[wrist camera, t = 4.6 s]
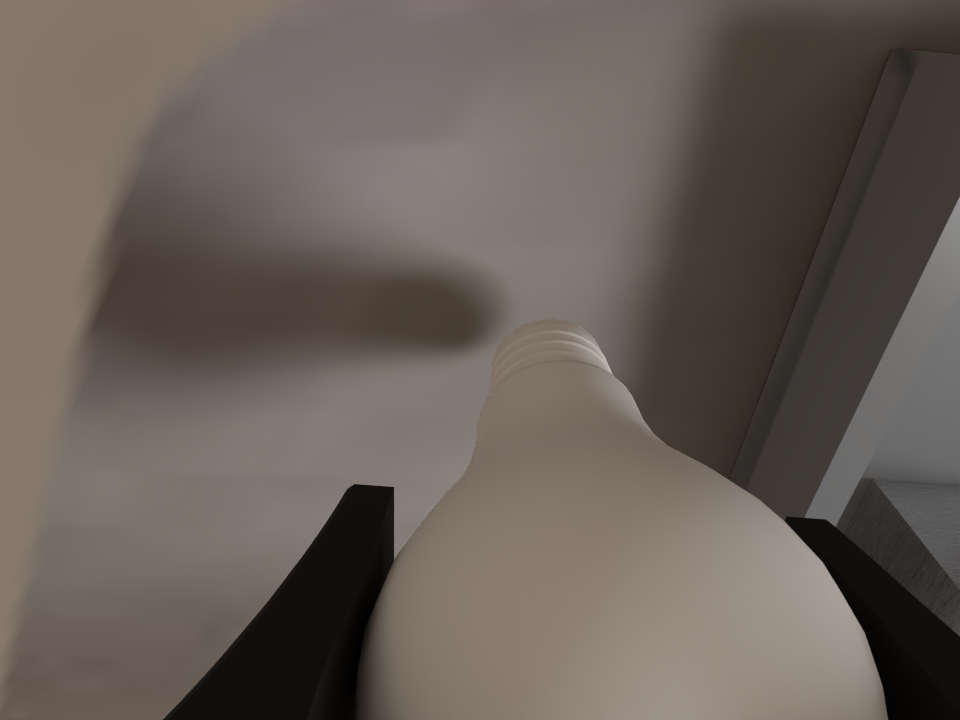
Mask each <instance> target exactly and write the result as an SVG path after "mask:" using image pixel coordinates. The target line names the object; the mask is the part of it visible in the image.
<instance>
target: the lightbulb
mask: <svg viewBox="0 0 960 720" xmlns="http://www.w3.org/2000/svg"><path fill="white" fill-rule="evenodd" d="M490 381H491V383H490V395H489V396H488V398H487V400H486V402H485V404H484V406H483V408H482V410H481V412H480V417H479V422H478V428H477V439H476V446H475V449H474V453H473V456H472V459H471V463H470V465H469V466H468V468H467V470H466V472H465V473H464V475H463V476H462V477H461V478H460V479H459V480H458V481H457V483H456V484H455V485H454V486H453V487H452V488H451V489H450V490H449V491H448V492H447V493H446V494H445V495H444V496H443V498H442V499H441V500H440V501H439V503H438V504H437V505H436V506H435V507H434V509H433V510H432V511H431V512H430V513H429V515H428V516H427V517H426V519H425V520H424V521H423V522H422V524H421V525H420V526H419V528H418V529H417V530H416V532H415V533H414V534H413V535H412V537H411V538H410V539H409V541H408V542H407V543H406V544H405V546H404V547H403V548H402V550H401V551H400V552H399V553H398V555H397V556H396V558H395V560H394V562H393V564H392V566H391V569H390V571H389V573H388V575H387V577H386V580H385V582H384V584H383V586H382V589H381V591H380V594H379V596H378V598H377V601H376V603H375V606H374V608H373V610H372V613H371V615H370V617H369V620H368V622H367V625H366V627H365V630H364V636H363V642H362V648H361V654H360V660H359V665H358V671H357V681H356V692H355V720H888V716H887V710H886V704H885V698H884V691H883V686H882V683H881V680H880V677H879V674H878V671H877V668H876V665H875V662H874V659H873V656H872V653H871V650H870V647H869V644H868V641H867V638H866V635H865V632H864V631H863V629H862V627H861V625H860V624H859V622H858V620H857V619H856V617H855V615H854V613H853V612H852V610H851V608H850V607H849V605H848V603H847V601H846V600H845V598H844V596H843V594H842V593H841V591H840V589H839V588H838V586H837V584H836V583H835V581H834V580H833V578H832V576H831V575H830V573H829V572H828V570H827V568H826V567H825V565H824V564H823V562H822V561H821V560H820V559H819V558H818V557H817V556H816V555H815V554H814V552H813V551H812V550H811V549H810V548H809V547H808V546H807V545H806V544H805V543H804V542H803V541H802V540H801V539H800V537H799V536H798V535H797V534H796V533H795V532H794V531H793V530H792V529H791V528H790V527H789V526H788V525H787V524H786V523H785V521H783V520H782V519H781V518H780V517H779V516H778V515H776V514H775V513H774V512H773V511H772V510H771V509H770V508H768V507H767V506H766V505H765V504H764V503H763V502H761V501H760V500H759V499H758V498H756V497H755V496H753V495H752V494H750V493H748V492H747V491H745V490H744V489H742V488H741V487H739V486H738V485H736V484H734V483H733V482H731V481H730V480H728V479H727V478H725V477H723V476H722V475H720V474H719V473H717V472H716V471H714V470H713V469H711V468H709V467H708V466H706V465H704V464H702V463H700V462H698V461H696V460H695V459H693V458H691V457H689V456H687V455H685V454H683V453H681V452H679V451H677V450H675V449H673V448H671V447H669V446H667V445H666V444H665V443H664V442H663V441H661V440H660V439H659V438H658V437H657V436H656V435H655V434H654V433H653V432H652V431H651V429H650V428H649V427H648V425H647V424H646V422H645V421H644V420H643V418H642V416H641V413H640V411H639V409H638V407H637V405H636V403H635V401H634V399H633V396H632V395H631V394H630V392H629V391H628V390H627V388H626V387H625V386H624V385H623V384H622V383H621V382H620V381H619V380H618V379H617V378H616V377H614V376H613V374H612V372H611V370H610V368H609V365H608V363H607V360H606V358H605V356H604V355H603V354H602V352H601V350H600V347H599V345H598V343H597V342H596V340H595V339H594V338H593V336H592V335H591V334H589V333H588V332H587V331H586V330H585V329H583V328H581V327H580V326H578V325H576V324H573V323H570V322H567V321H563V320H556V319H549V320H539V321H534V322H530V323H528V324H525V325H523V326H521V327H519V328H517V329H516V330H514V331H512V332H511V333H510V334H509V335H508V336H507V337H505V338H504V339H503V341H502V342H501V343H500V345H499V346H498V348H497V350H496V352H495V354H494V358H493V362H492V370H491V375H490Z"/></svg>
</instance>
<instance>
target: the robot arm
mask: <svg viewBox="0 0 960 720" xmlns="http://www.w3.org/2000/svg"><path fill="white" fill-rule="evenodd" d="M785 523H786V524H787V525H788V526H789V527H790V528H791V529H792V530H793V531H794V532H795V533H796V534H797V535H798V536H799V537H800V539H801V540H802V541H803V542H804V543H805V544H806V545H807V546H808V547H809V548H810V549H811V550H812V551H813V552H814V554H815V555H816V556H817V557H818V558H819V559H820V560H821V561H822V562H823V564H824V565H825V567H826V568H827V570H828V572H829V573H830V575H831V576H832V578H833V580H834V581H835V583H836V584H837V586H838V588H839V589H840V591H841V593H842V594H843V596H844V598H845V600H846V601H847V603H848V605H849V607H850V608H851V610H852V612H853V613H854V615H855V617H856V619H857V620H858V622H859V624H860V625H861V627H862V629H863V631H864V632H865V635H866V638H867V641H868V644H869V647H870V650H871V653H872V656H873V659H874V662H875V665H876V668H877V671H878V674H879V677H880V680H881V683H882V686H883V691H884V698H885V704H886V710H887V716H888V720H960V636H959V635H958V634H956V633H955V632H954V631H953V630H952V629H951V628H950V627H948V626H947V625H946V624H945V623H944V622H943V621H942V620H940V619H939V618H938V617H937V616H936V615H935V614H934V613H932V612H931V611H930V610H929V609H928V608H927V607H926V606H925V605H923V604H922V603H921V602H920V601H919V600H918V599H917V598H916V597H914V596H913V595H912V594H911V593H910V592H909V591H908V590H907V589H905V588H904V587H903V586H902V585H901V584H900V583H899V582H898V581H897V580H895V579H894V578H893V577H892V576H891V575H890V574H889V573H888V572H886V571H885V570H884V569H883V568H882V567H881V566H880V565H879V564H877V563H876V562H875V561H874V560H873V559H872V558H871V557H870V556H868V555H867V554H866V553H865V552H864V551H863V550H862V549H861V548H859V547H858V546H857V545H856V544H855V543H854V542H853V541H851V540H850V539H849V538H848V537H847V536H846V535H844V534H843V533H842V532H841V531H840V530H838V529H837V528H836V527H835V526H834V525H832V524H831V523H830V522H829V521H827V520H826V519H814V518H801V517H786V519H785ZM393 562H394V487H385V486H372V485H359V484H354V485H352V486H351V487H350V488H348V489H347V490H346V492H345V494H344V495H343V497H342V499H341V500H340V502H339V504H338V505H337V507H336V508H335V510H334V511H333V513H332V515H331V516H330V518H329V519H328V521H327V522H326V524H325V525H324V527H323V528H322V530H321V531H320V532H319V534H318V535H317V537H316V538H315V540H314V541H313V542H312V544H311V545H310V547H309V548H308V549H307V551H306V552H305V554H304V555H303V556H302V558H301V559H300V560H299V562H298V563H297V564H296V566H295V567H294V568H293V570H292V571H291V572H290V573H289V575H288V576H287V577H286V579H285V580H284V581H283V583H282V584H281V585H280V587H279V588H278V589H277V590H276V592H275V593H274V594H273V596H272V597H271V598H270V600H269V601H268V602H267V603H266V605H265V606H264V607H263V608H262V609H261V611H260V612H259V613H258V614H257V615H256V617H255V618H254V619H253V620H252V621H251V622H250V624H249V625H248V626H247V627H246V628H245V630H244V631H243V632H242V633H241V634H240V635H239V637H238V638H237V639H236V640H235V641H234V643H233V644H232V645H231V646H230V647H229V648H228V650H227V651H226V652H225V653H224V654H223V656H222V657H221V658H220V659H219V660H218V661H217V662H216V663H215V665H214V666H213V667H212V668H211V669H210V670H209V671H208V672H207V673H206V675H205V676H204V677H203V678H202V679H201V680H200V681H199V682H198V683H197V684H196V686H195V687H194V688H193V689H192V690H191V691H190V692H189V693H188V694H187V695H186V696H185V697H184V698H183V699H182V701H181V702H180V703H179V704H178V705H177V706H176V707H175V708H174V709H173V710H172V711H171V712H170V713H169V714H168V715H167V716H166V717H165V718H164V719H163V720H355V692H356V681H357V671H358V665H359V660H360V654H361V648H362V642H363V636H364V630H365V627H366V625H367V622H368V620H369V617H370V615H371V613H372V610H373V608H374V606H375V603H376V601H377V598H378V596H379V594H380V591H381V589H382V586H383V584H384V582H385V580H386V577H387V575H388V573H389V571H390V569H391V566H392V564H393Z"/></svg>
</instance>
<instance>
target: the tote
mask: <svg viewBox="0 0 960 720" xmlns="http://www.w3.org/2000/svg"><path fill="white" fill-rule="evenodd" d="M872 479H884V480H897V481H911V482H924V483H938V484H951V485H960V54H951V53H939V52H928V51H916V50H904V49H892V50H891V53H890V55H889V58H888V61H887V63H886V66H885V69H884V71H883V74H882V77H881V79H880V82H879V84H878V87H877V90H876V92H875V95H874V98H873V100H872V103H871V106H870V108H869V111H868V114H867V116H866V119H865V121H864V124H863V127H862V129H861V132H860V135H859V137H858V140H857V143H856V145H855V148H854V151H853V153H852V156H851V158H850V161H849V164H848V166H847V169H846V172H845V174H844V177H843V180H842V182H841V185H840V188H839V190H838V193H837V196H836V198H835V201H834V203H833V206H832V209H831V211H830V214H829V217H828V219H827V222H826V225H825V227H824V230H823V233H822V235H821V238H820V240H819V243H818V246H817V248H816V251H815V254H814V256H813V259H812V262H811V264H810V267H809V270H808V272H807V275H806V278H805V280H804V283H803V285H802V288H801V291H800V293H799V296H798V299H797V301H796V304H795V307H794V309H793V312H792V315H791V317H790V320H789V322H788V325H787V328H786V330H785V333H784V336H783V338H782V341H781V344H780V346H779V349H778V352H777V354H776V357H775V360H774V362H773V365H772V367H771V370H770V373H769V375H768V378H767V381H766V383H765V386H764V389H763V391H762V394H761V397H760V399H759V402H758V404H757V407H756V410H755V412H754V415H753V418H752V420H751V423H750V426H749V428H748V431H747V434H746V436H745V439H744V441H743V444H742V447H741V449H740V452H739V455H738V457H737V460H736V463H735V465H734V468H733V471H732V473H731V476H730V479H729V480H730V481H731V482H733V483H734V484H736V485H738V486H739V487H741V488H742V489H744V490H745V491H747V492H748V493H750V494H752V495H753V496H755V497H756V498H758V499H759V500H760V501H761V502H763V503H764V504H765V505H766V506H767V507H768V508H770V509H771V510H772V511H773V512H774V513H775V514H776V515H778V516H779V517H780V518H781V519H782V520H783V521H785V519H786V517H801V518H814V519H826V520H827V521H829V522H830V523H831V524H832V525H834V526H835V527H836V528H837V529H838V530H840V531H841V532H842V533H843V532H844V531H845V529H846V527H847V525H848V523H849V521H850V519H851V518H852V516H853V514H854V512H855V510H856V508H857V507H858V505H859V503H860V501H861V499H862V497H863V495H864V494H865V492H866V490H867V488H868V486H869V484H870V482H871V481H872Z"/></svg>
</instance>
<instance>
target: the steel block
mask: <svg viewBox="0 0 960 720" xmlns="http://www.w3.org/2000/svg"><path fill="white" fill-rule="evenodd" d="M843 534H844V535H846V536H847V537H848V538H849V539H850V540H851V541H853V542H854V543H855V544H856V545H857V546H858V547H859V548H861V549H862V550H863V551H864V552H865V553H866V554H867V555H868V556H870V557H871V558H872V559H873V560H874V561H875V562H876V563H877V564H879V565H880V566H881V567H882V568H883V569H884V570H885V571H886V572H888V573H889V574H890V575H891V576H892V577H893V578H894V579H895V580H897V581H898V582H899V583H900V584H901V585H902V586H903V587H904V588H905V589H907V590H908V591H909V592H910V593H911V594H912V595H913V596H914V597H916V598H917V599H918V600H919V601H920V602H921V603H922V604H923V605H925V606H926V607H927V608H928V609H929V610H930V611H931V612H932V613H934V614H935V615H936V616H937V617H938V618H939V619H940V620H942V621H943V622H944V623H945V624H946V625H947V626H948V627H950V628H951V629H952V630H953V631H954V632H955V633H956V634H958V635H959V636H960V485H951V484H938V483H924V482H911V481H897V480H884V479H872V481H871V482H870V484H869V486H868V488H867V490H866V492H865V494H864V495H863V497H862V499H861V501H860V503H859V505H858V507H857V508H856V510H855V512H854V514H853V516H852V518H851V519H850V521H849V523H848V525H847V527H846V529H845V531H844V532H843Z"/></svg>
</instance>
